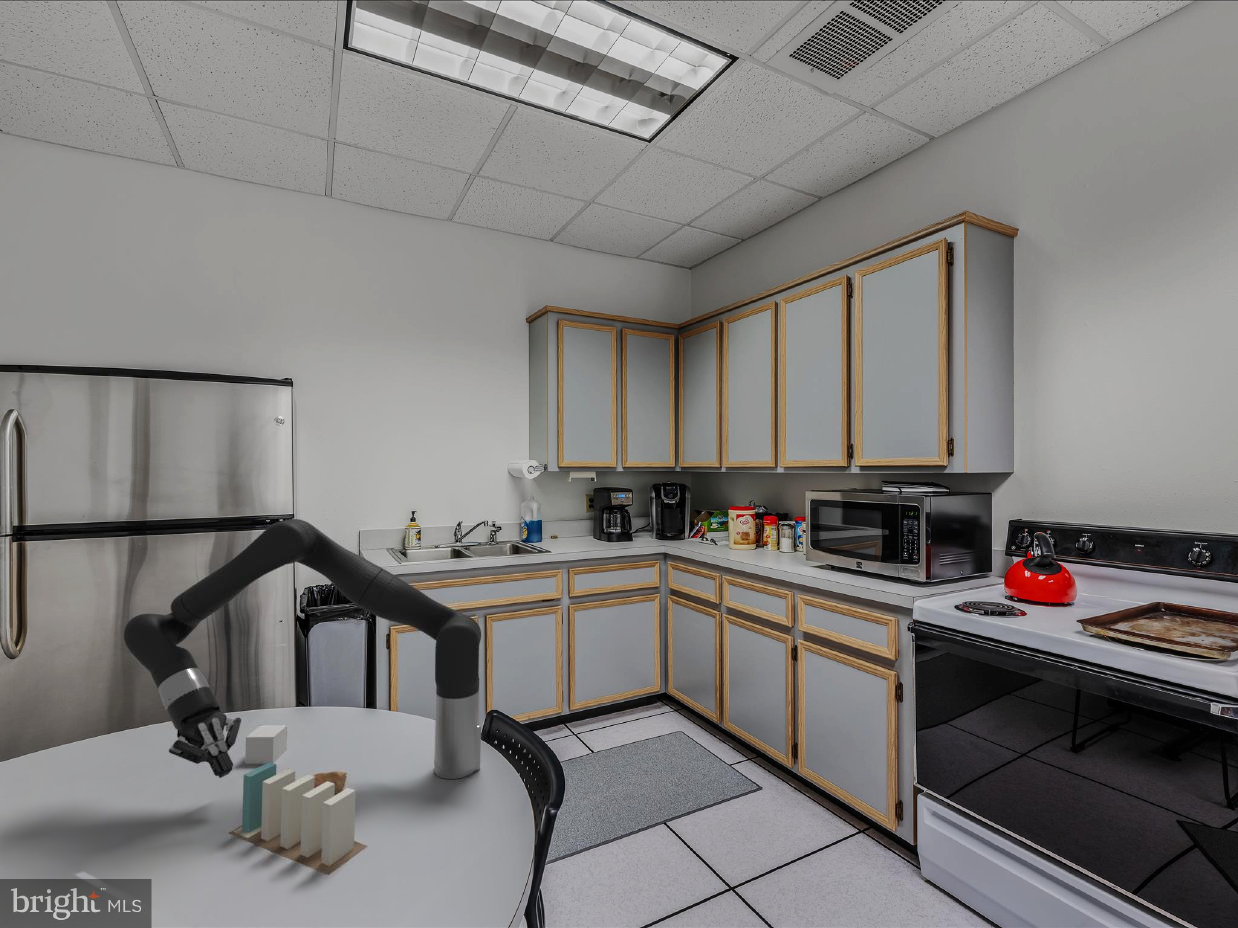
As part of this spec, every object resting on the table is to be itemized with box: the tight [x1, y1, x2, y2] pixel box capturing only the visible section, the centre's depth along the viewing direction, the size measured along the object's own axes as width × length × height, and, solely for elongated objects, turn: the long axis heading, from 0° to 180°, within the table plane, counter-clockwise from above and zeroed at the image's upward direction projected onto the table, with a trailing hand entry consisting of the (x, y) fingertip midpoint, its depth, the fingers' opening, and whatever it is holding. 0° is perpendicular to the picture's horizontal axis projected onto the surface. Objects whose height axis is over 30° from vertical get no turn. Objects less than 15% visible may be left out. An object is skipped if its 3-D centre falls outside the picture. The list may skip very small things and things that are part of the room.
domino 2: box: [280, 774, 315, 849], centre depth 103 cm, size 2×5×10 cm, turn 156°
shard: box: [312, 770, 348, 796], centre depth 120 cm, size 11×8×2 cm
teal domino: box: [241, 762, 277, 833], centre depth 107 cm, size 2×5×10 cm, turn 157°
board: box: [228, 825, 368, 876], centre depth 103 cm, size 25×8×1 cm, turn 66°
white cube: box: [244, 724, 288, 765], centre depth 133 cm, size 6×6×6 cm
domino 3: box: [301, 781, 335, 857], centre depth 101 cm, size 2×5×10 cm, turn 156°
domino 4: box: [321, 787, 356, 866], centre depth 99 cm, size 2×5×10 cm, turn 156°
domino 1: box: [261, 768, 296, 841], centre depth 105 cm, size 2×5×10 cm, turn 156°
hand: (226, 773), depth 111 cm, fingers closed
